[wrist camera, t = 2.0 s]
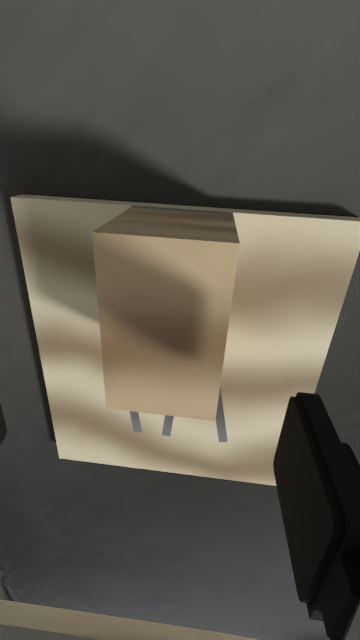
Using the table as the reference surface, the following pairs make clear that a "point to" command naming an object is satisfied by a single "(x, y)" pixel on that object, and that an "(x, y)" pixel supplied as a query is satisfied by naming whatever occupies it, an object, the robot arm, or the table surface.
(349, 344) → the table surface
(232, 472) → the board
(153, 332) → the block
